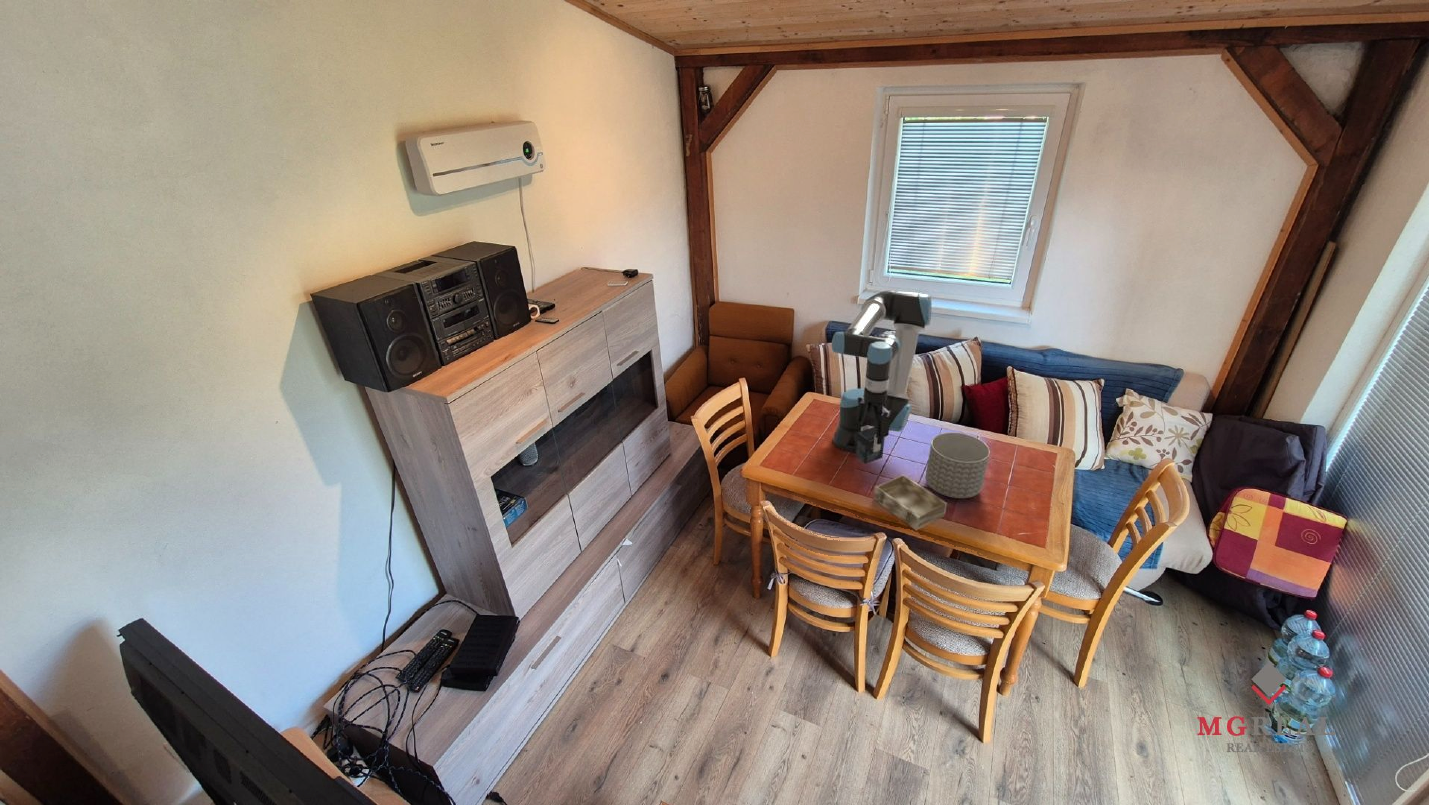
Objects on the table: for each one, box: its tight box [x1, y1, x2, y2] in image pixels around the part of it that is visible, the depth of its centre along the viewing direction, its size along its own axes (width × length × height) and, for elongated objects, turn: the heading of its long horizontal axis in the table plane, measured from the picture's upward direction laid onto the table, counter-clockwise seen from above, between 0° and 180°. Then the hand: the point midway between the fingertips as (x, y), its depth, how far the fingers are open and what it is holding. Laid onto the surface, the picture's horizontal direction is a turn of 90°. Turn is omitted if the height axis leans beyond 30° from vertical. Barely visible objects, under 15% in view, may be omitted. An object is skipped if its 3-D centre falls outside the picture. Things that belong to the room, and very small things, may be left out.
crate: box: [873, 473, 948, 531], centre depth 195 cm, size 20×14×6 cm
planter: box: [925, 431, 991, 499], centre depth 200 cm, size 19×19×18 cm
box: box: [855, 426, 886, 465], centre depth 197 cm, size 8×6×11 cm
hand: (869, 446), depth 197 cm, fingers closed on box, 6 cm apart
